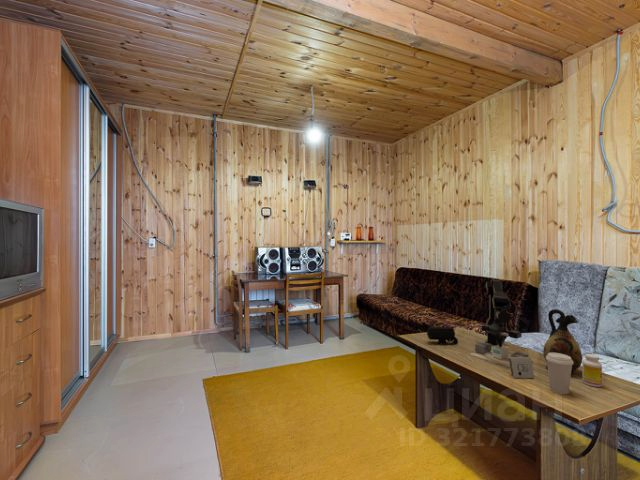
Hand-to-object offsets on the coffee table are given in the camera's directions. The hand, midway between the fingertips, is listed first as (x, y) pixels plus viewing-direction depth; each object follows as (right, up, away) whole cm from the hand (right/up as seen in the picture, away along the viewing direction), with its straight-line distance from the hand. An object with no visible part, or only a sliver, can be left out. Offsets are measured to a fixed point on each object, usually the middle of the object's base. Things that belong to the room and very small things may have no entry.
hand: (500, 346), depth 169 cm
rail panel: (0, -7, 0) cm, 7 cm away
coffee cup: (+4, -7, -36) cm, 37 cm away
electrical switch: (-3, -7, -22) cm, 23 cm away
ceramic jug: (+22, -7, -14) cm, 27 cm away
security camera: (-22, -7, +25) cm, 34 cm away
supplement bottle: (+24, -7, -30) cm, 39 cm away
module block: (0, -5, 0) cm, 5 cm away
